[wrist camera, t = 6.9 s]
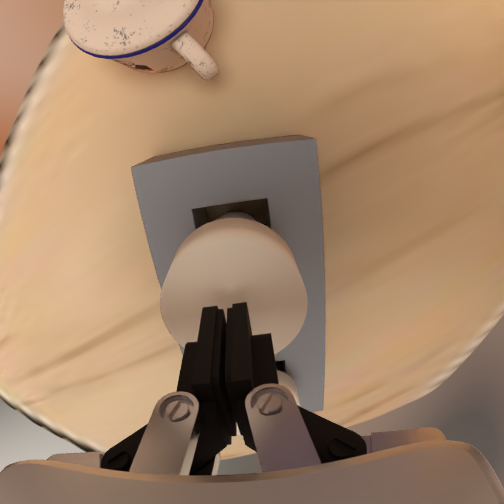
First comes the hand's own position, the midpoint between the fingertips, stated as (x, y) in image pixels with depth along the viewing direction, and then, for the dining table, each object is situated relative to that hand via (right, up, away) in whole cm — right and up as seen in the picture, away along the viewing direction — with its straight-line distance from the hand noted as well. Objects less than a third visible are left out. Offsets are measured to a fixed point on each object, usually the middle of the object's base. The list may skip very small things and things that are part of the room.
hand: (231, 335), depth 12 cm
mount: (0, 0, +18) cm, 18 cm away
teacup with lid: (-6, +21, +9) cm, 23 cm away
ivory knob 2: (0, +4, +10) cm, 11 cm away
